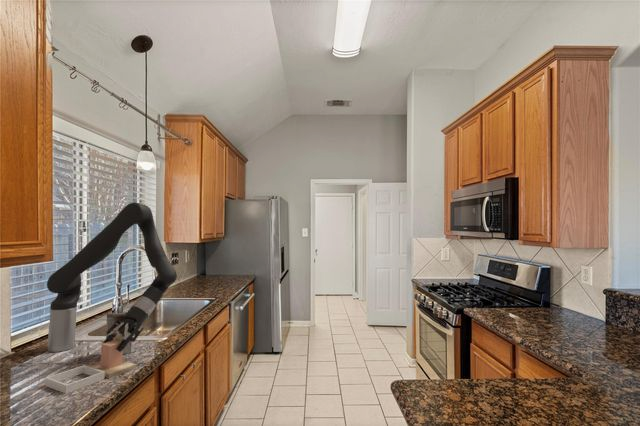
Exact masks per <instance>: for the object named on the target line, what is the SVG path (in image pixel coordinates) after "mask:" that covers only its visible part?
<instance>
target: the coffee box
mask: <svg viewBox="0 0 640 426" xmlns="http://www.w3.org/2000/svg"><path fill="white" fill-rule="evenodd" d="M127 312H128V311H127ZM127 312H126V311H125V312H115V313H108V314H106V332H107V331H108V330H109V329H110V328H111V326H112V325H113V324H114V323H115V322H116V321H117V320H119V321H120V322H122V321H123V320H124V319H125V317H124V316H125V314H126V313H127ZM112 331H113V329H112ZM112 331H111V332H112ZM118 331H119V329H118ZM115 334H116V333H115ZM115 334H114V335H115ZM124 336H125V335H120V336H117V337H115V338H114V339H113V340H112V341H114V340H116V341H120V342H121V341H122V340H124ZM107 337H108V334H107V333H105V339H106V338H107ZM131 353H132V341H131V342H130V343H128V344H127V345H126V346H125V348H124V349H123V355H126V354H127V355H128V354H131Z"/></svg>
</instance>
